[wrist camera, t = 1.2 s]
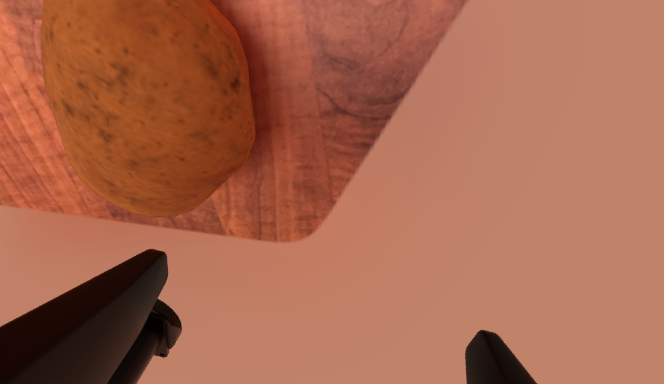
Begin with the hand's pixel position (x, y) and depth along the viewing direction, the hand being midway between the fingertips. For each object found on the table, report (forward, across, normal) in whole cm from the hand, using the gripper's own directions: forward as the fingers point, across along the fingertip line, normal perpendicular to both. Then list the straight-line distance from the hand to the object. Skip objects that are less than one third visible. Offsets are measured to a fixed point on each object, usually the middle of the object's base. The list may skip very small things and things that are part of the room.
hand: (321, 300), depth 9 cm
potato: (+12, +9, 0) cm, 15 cm away
